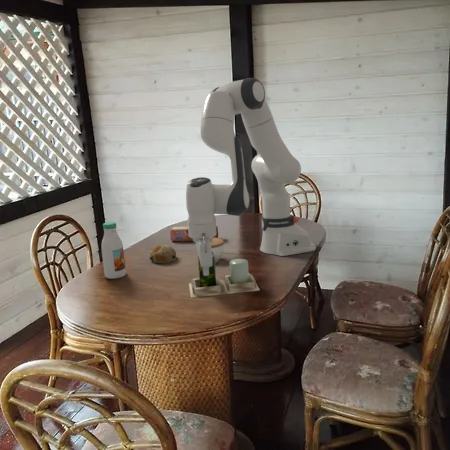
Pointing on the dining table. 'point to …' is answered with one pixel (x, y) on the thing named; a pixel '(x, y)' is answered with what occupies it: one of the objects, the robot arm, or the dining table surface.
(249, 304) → the dining table surface
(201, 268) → the beer can
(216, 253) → the lidded jar
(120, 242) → the milk bottle
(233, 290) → the caddy
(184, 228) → the snack package
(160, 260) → the bread roll
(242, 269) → the mint green domed part
